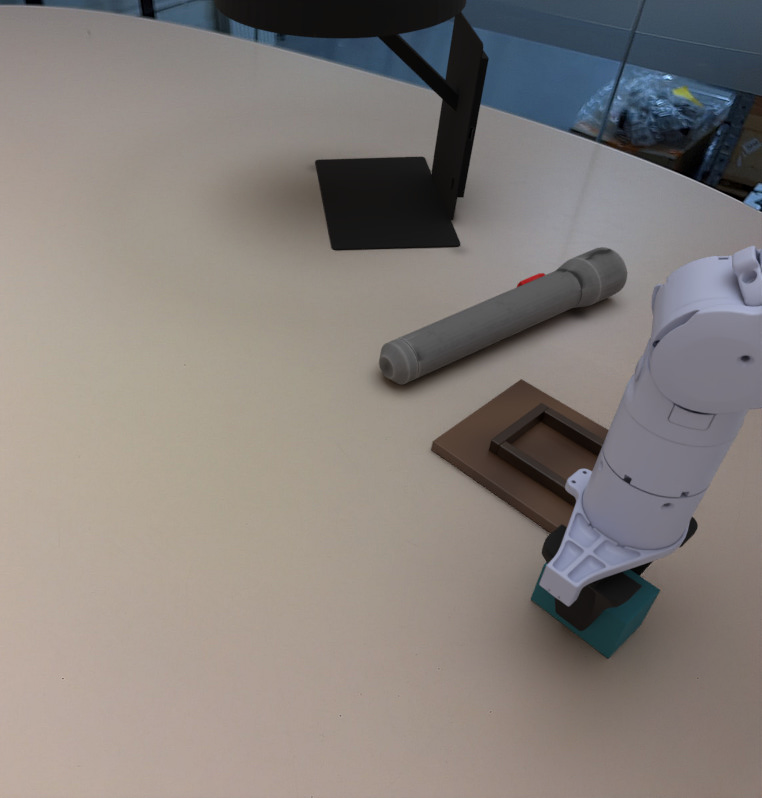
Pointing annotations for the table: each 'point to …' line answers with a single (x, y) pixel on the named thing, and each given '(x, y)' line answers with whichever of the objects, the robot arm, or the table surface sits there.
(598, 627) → the teal block
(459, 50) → the table lamp
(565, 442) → the brown board with frame
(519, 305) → the flashlight
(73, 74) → the table surface
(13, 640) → the table surface
